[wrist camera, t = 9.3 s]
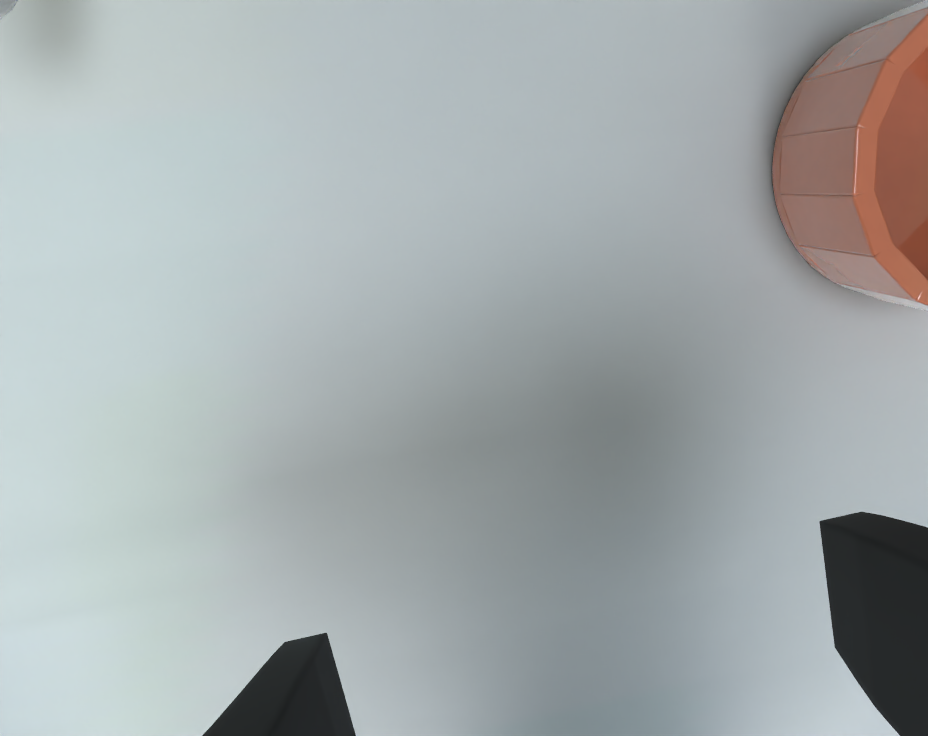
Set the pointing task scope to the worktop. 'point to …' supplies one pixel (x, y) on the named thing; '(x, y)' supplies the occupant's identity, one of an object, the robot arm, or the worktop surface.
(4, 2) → the teacup
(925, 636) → the robot arm
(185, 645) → the worktop surface
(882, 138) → the pot
